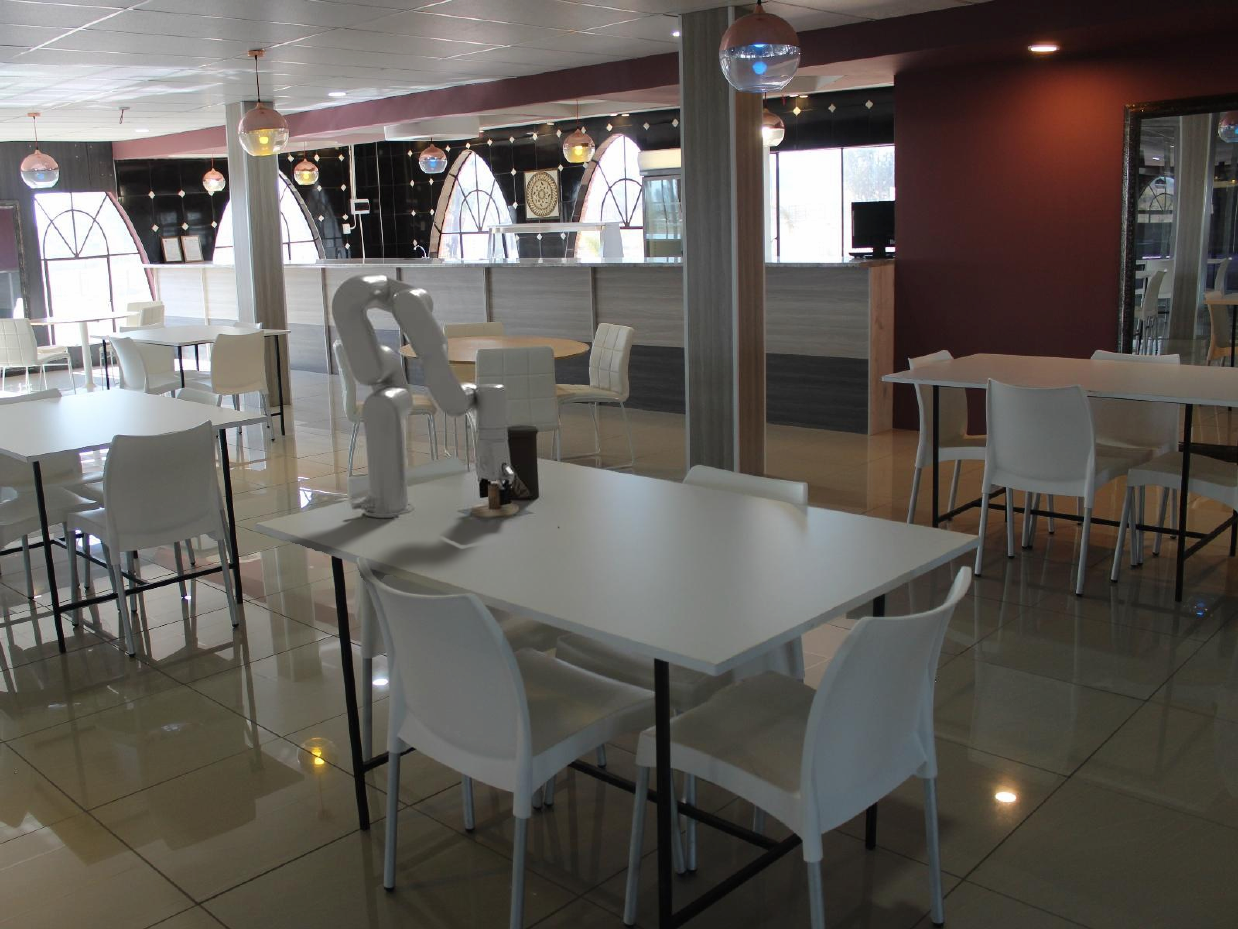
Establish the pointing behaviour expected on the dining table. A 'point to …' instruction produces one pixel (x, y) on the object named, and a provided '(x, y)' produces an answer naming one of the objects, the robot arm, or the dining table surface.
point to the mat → (468, 512)
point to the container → (523, 462)
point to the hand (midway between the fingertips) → (495, 500)
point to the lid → (494, 505)
